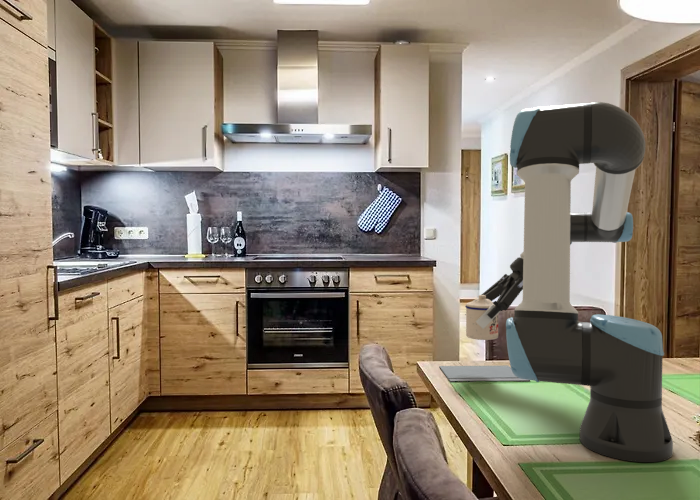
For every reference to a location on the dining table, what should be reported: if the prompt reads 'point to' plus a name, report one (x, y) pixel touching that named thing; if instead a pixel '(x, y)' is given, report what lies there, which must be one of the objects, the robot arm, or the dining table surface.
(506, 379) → the black line strip
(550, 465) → the dining table surface
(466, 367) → the slate mat
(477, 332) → the teacup with lid
